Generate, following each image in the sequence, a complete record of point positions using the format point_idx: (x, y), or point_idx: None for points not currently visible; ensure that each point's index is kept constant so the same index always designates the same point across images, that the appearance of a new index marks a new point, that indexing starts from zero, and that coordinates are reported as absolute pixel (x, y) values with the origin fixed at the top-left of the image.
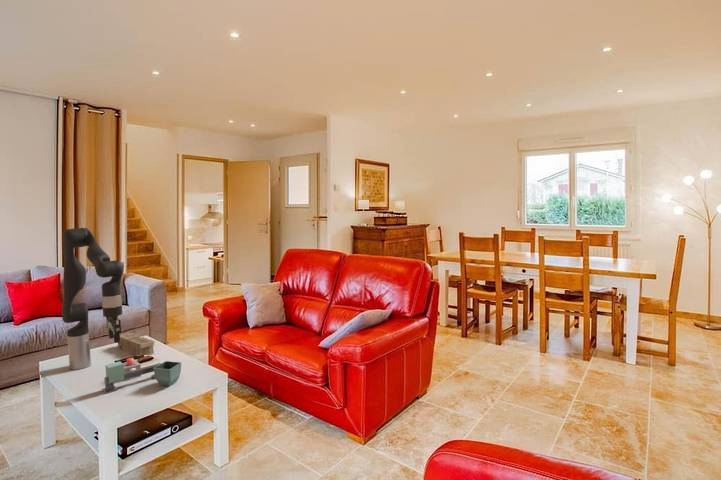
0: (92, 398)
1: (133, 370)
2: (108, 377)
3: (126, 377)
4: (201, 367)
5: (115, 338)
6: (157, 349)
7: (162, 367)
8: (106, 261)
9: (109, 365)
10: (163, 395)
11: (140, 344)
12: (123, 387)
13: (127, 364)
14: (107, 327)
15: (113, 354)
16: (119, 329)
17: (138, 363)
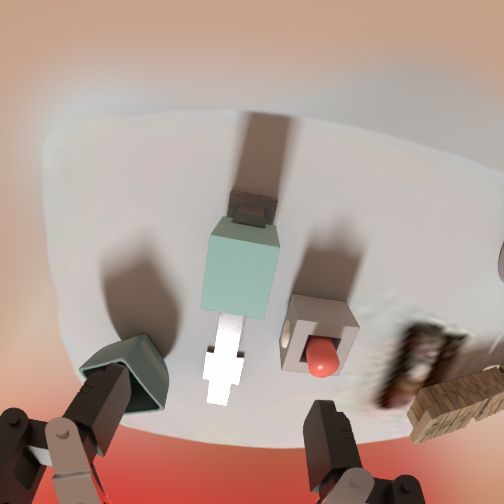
0: (229, 144)
1: (235, 329)
2: (227, 222)
3: None
4: (189, 434)
5: (88, 393)
6: None
7: (152, 384)
8: None
9: (246, 257)
10: (75, 297)
11: (432, 418)
12: None
13: (318, 342)
14: (391, 489)
15: (496, 345)
16: (28, 471)
17: (298, 370)
